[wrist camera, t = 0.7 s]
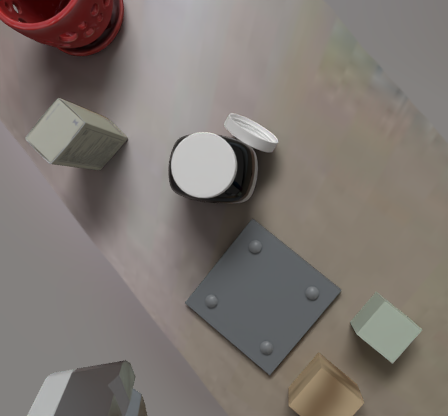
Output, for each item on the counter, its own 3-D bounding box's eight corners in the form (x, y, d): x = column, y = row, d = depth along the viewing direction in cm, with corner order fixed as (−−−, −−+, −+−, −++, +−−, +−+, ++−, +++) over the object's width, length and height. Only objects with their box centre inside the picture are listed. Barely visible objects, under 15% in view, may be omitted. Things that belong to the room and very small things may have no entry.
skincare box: (107, 117, 57) (58, 93, 45) (130, 139, 56) (87, 121, 44) (77, 151, 58) (22, 137, 46) (99, 173, 57) (49, 165, 45)
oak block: (357, 384, 52) (364, 402, 47) (326, 419, 53) (330, 441, 48) (318, 352, 53) (321, 367, 48) (288, 387, 54) (288, 405, 49)
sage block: (409, 317, 51) (422, 329, 46) (382, 348, 52) (392, 363, 47) (376, 291, 52) (385, 300, 47) (349, 322, 52) (356, 334, 47)
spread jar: (179, 197, 55) (151, 195, 44) (190, 112, 55) (165, 88, 44) (270, 210, 54) (265, 211, 42) (282, 122, 53) (280, 98, 42)
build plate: (340, 288, 52) (341, 290, 51) (270, 372, 54) (269, 376, 52) (252, 218, 54) (251, 218, 53) (186, 301, 55) (184, 303, 54)
